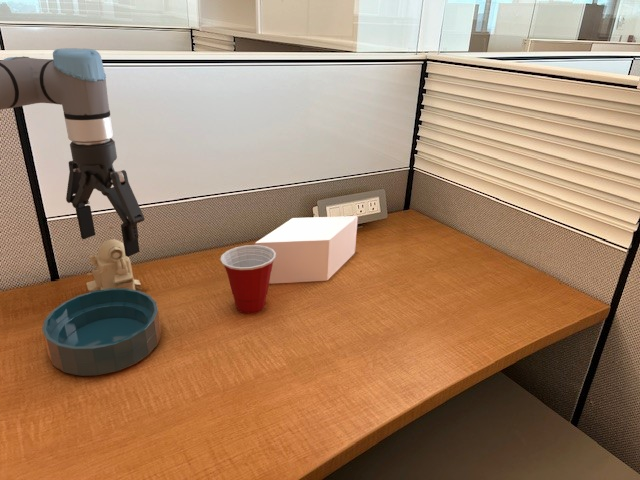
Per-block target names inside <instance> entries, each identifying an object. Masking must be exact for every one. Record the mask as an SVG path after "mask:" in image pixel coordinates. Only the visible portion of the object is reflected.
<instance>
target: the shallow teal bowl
mask: <svg viewBox="0 0 640 480" xmlns="http://www.w3.org/2000/svg"><path fill="white" fill-rule="evenodd" d="M41 332H42V336H43V339H44V344H45V348H46V353H47V356H48V358H49V360H50V362H51V364H52V366H53V367H54V368H56V369H58V370H59V371H61V372H63V373H66V374H69V375H74V376H75V375H76V376H78V377H83V376H84V377H85V376H100V375H106V374H110V373H115V372H119V371H122V370H124V369H127V368H128V367H131V366H133V365H135V364H137V363H139V362H140V361H142V360H143V359H145V358H146V357H148V356H149V355H150V354H151V353H152V352H153V350H155V348H156V347H157V346H158V344H159V343H160V342H159V341H160V339H161V336H162V333H161V325H160V316H159V309H158V304H157V301H156V300H155V299H154V298H153V297H152V296H151V295H150V294H147V293H146V292H143V291H141V290H139V289H138V290H132V289H126V288H110V289H103V290H97V291H92V292H89V291H88V292H86V293H83V294H79V295H76V296H74V297H72V298H70V299H68V300H66V301H63V302H62V303H60V304H59V305H58V306H56V307H55V308H54V309H53V310H51V311H50V312H49V314H48V315H47V316H46V317H45V318H44V320H43V324H42V329H41Z"/></svg>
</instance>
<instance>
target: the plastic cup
mask: <svg viewBox="0 0 640 480" xmlns="http://www.w3.org/2000/svg"><path fill="white" fill-rule="evenodd" d="M275 256H276V252H275V251H274V250H273V249H271V248H269V247H266V246H260V245H255V244H247V245H240V246H235V247H232V248H231V249H228V250H225V252H224V253H223V254H221V256H220V263H222V265H223V266H224V269H225V272H226V274H227V278H228V282H229V285H230V290H231V294H232V296H233V299H234V300H233V301H234V304H235V306H236V307H235V308H236V309H237V311H238V312H239V313H242V314H245V315H253V314H258V313H260V312H261V311H263V310H264V309H265V307H266V302H267V297H268V293H269V287H270V284H269V280H270V274H271V271H272V266H273V261H274V260H275Z"/></svg>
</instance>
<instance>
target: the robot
mask: <svg viewBox="0 0 640 480" xmlns="http://www.w3.org/2000/svg"><path fill="white" fill-rule="evenodd" d="M112 229H115V227H114V226H111V225H108V230H109V233H107V232H104V233H105V237H106V238H102V241H103V243H102V244H100V246H99V248H98V252H97V254H93V253H92V254H90V255H89V256H88V259H89V261H90V265H92V266H95V267H96V269H91V272H88V273H86V276H89V277H90V276H93V280H90V281H87V282H86V283H85V284H86V287H87V290H88V293H89V292H92V291H97V290H103V289H110V288H126V289H132V290H136V286H138V287H137V289H138V291H141V282H140V280H139V279H135V278H134V273H133V268H132V261H131V259H130V258H129V257H127V256H126V255H125V249H124V243H123V242H122V241H121V240H119V239H115V238H113V239H108V238H109V237H110V234H111V230H112ZM107 234H108V235H107Z"/></svg>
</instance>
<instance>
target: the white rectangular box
mask: <svg viewBox="0 0 640 480" xmlns="http://www.w3.org/2000/svg"><path fill="white" fill-rule="evenodd" d="M358 221H359V216H358V215H350V216H349V215H348V216H347V215H345V216H313V217H312V216H311V217H310V216H309V217H292V218H290V219H289V220H287V221H286V222H284V223H283V224H281V225H279V226H278V227H277V228H275V229H274V230H273V231H271V232H269V233H268V234H266V235H264V236H263V237H261V238H260V239H258V240H257V241H255V242H254V245H260V246H266V247H269V248H271V249H273V250H274V251H275V252H276V256H275V260H274V261H273V266H272V271H271V274H270V280H269V285H270V284H272V285H273V284H286V283H287V284H290V283H307V282H310V283H311V282H326V281H329V279H330V278H332V277H333V276H334V274H336V273H337V272H338V271H339V270H340V269H341V268H342V267H343V266H344V265H345V264H346V263H347V262H348V261H349V259H351V258H352V256H354V255H355V254H356V246H357V245H356V244H357V232H358Z"/></svg>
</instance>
